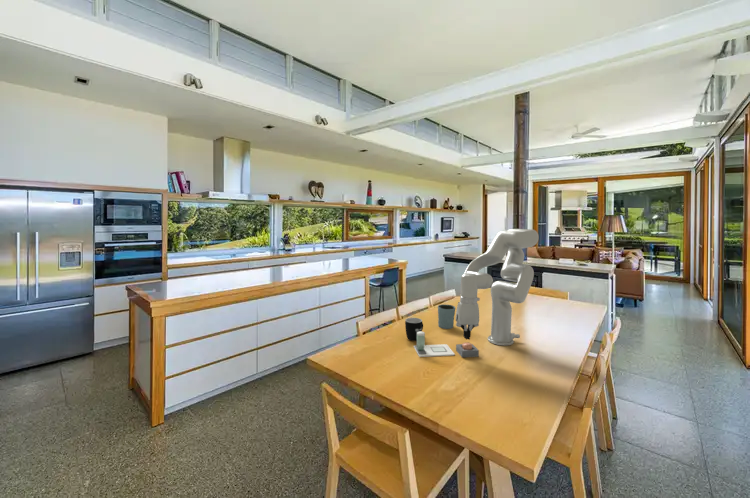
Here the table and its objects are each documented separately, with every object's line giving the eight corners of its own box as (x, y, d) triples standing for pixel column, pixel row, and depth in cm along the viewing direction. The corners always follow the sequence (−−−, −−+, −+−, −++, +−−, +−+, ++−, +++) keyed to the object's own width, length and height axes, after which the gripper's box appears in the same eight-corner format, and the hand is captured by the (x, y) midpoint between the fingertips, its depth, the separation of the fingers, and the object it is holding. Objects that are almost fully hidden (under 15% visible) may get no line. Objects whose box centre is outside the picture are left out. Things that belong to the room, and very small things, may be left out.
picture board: (446, 345, 169) (446, 343, 169) (454, 355, 157) (454, 353, 157) (413, 346, 167) (413, 344, 167) (419, 356, 155) (419, 354, 155)
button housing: (471, 349, 163) (472, 343, 163) (478, 356, 155) (478, 350, 155) (456, 350, 162) (456, 344, 162) (461, 357, 155) (462, 351, 154)
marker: (423, 347, 163) (423, 331, 162) (425, 350, 159) (425, 334, 159) (415, 348, 163) (415, 331, 162) (417, 351, 159) (417, 334, 158)
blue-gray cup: (441, 322, 204) (442, 303, 203) (457, 325, 198) (458, 306, 197) (434, 327, 196) (434, 307, 194) (450, 330, 190) (451, 310, 188)
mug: (414, 343, 171) (414, 324, 170) (401, 338, 178) (401, 320, 177) (429, 337, 180) (429, 319, 178) (416, 333, 186) (416, 315, 185)
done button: (469, 348, 161) (470, 342, 161) (473, 352, 157) (473, 345, 157) (461, 348, 161) (461, 342, 160) (464, 352, 156) (464, 346, 156)
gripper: (480, 298, 161) (478, 335, 162) (450, 298, 159) (448, 335, 161) (487, 302, 153) (485, 341, 155) (455, 302, 152) (454, 341, 153)
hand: (466, 338), depth 158 cm, fingers closed
